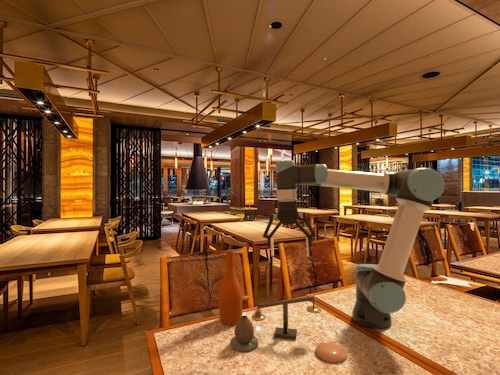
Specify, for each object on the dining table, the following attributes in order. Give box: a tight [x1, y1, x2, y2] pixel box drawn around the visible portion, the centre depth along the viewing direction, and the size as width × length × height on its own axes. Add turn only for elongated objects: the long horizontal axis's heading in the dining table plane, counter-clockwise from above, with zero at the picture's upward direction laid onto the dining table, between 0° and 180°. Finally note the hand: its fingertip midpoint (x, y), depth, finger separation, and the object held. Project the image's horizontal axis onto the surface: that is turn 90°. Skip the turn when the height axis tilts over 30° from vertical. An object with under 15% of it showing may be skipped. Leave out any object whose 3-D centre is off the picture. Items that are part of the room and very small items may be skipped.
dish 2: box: [315, 342, 348, 364], centre depth 93 cm, size 10×10×1 cm
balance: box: [251, 296, 322, 341], centre depth 106 cm, size 26×5×15 cm, turn 77°
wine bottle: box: [218, 249, 243, 326], centre depth 118 cm, size 10×10×30 cm
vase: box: [234, 315, 255, 344], centre depth 100 cm, size 7×7×9 cm
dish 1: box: [229, 336, 259, 353], centre depth 100 cm, size 10×10×1 cm
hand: (290, 255), depth 108 cm, fingers open, 13 cm apart
